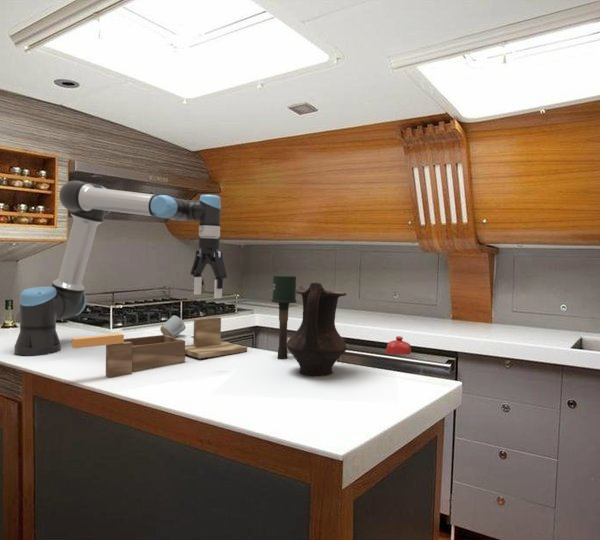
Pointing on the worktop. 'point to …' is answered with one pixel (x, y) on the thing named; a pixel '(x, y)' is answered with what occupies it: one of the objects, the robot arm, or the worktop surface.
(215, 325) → the lid
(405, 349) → the butter dish
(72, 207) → the robot arm
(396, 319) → the worktop surface
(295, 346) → the jug
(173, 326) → the ceramic mug
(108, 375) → the open wooden box
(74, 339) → the orange rectangular block
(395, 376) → the worktop surface
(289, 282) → the stick grenade
